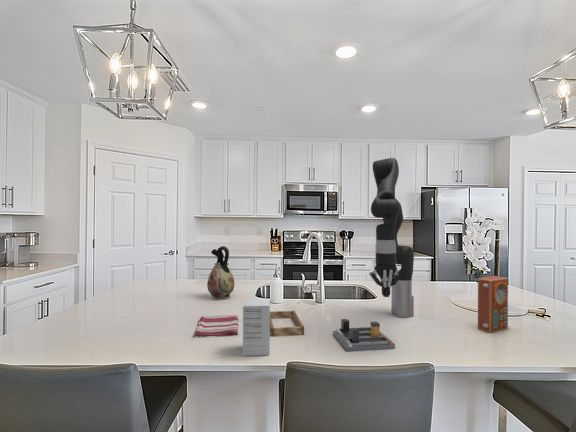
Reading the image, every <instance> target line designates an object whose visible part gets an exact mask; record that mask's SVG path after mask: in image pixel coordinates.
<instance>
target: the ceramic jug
mask: <svg viewBox="0 0 576 432" xmlns="http://www.w3.org/2000/svg"><path fill="white" fill-rule="evenodd" d="M223 251H224V253H223ZM210 253H211V255H213V256H215V257H216V258H217V260H216V263H215V264H214V266H213V268H212V269H211V271H210V273H209V275H208V278H207V283H206V285H207V291H208V292H209V294H211V296H212V297H213V299H214V298H215V299H214V300H226V299H229V298H231V294H232V292H233V291H234V289H235V278H234V275H233V273H232V271H231V270H230V268H229V267H228V262H229V258H230V257H229V256H230V250H229V248H228V247H227V246H226V245H225V246H224V245H223V246H222V245H221V246H219V247H218V248H217V249H216V248H214V249H212V250H211V252H210Z"/></svg>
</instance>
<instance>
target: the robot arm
mask: <svg viewBox="0 0 576 432" xmlns="http://www.w3.org/2000/svg"><path fill="white" fill-rule="evenodd" d="M372 172H373V177H374V181H375V186H376V190H377V192H376V196H375V197H374V198H373V201H372V202H371V206H370V212H371V215H372V216H373V217H374V218H378V219H380V218H381V219H382V222H383V223H380V224H377V225H376V227H375V267H374V270H373V271H372V272H371V271H370V272H369V276H370V278H371V279H372V280H373V281H374V282H375V284H376V285H377V286H379V287H381V295H382V297H384V298H390V295H391V309H390V310H391V315H392V316H394V317H398V318H411V317H414V316H415V315H414V314H415V312H414V311H415V309H414V308H415V307H414V305H415V304H414V302H415V301H414V295H413V274H414V261H415V255H414V250H413V247H411V246H409V245H401V244H398V233H399V231H400V229H401V226H402V225H403V221H404V214H403V213H404V212H403V208H402V204H401V203H400V201H399V200H398V199H397V198H396V185H397V182H398V178H399V173H400V169H399V162H398V160H397V159H396V158H395V157H388V158H384V159H379V160H374V161H373V163H372ZM397 265H398V266H399V265H400V266H401V267H400V269H399V270H398V267H397ZM377 276H378V277H377Z"/></svg>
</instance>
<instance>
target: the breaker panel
mask: <svg viewBox="0 0 576 432" xmlns="http://www.w3.org/2000/svg"><path fill="white" fill-rule="evenodd" d="M332 335H333V337H336V338H335V339H336V341H337V342H338V343H339V342H340V343H339V344H340V345H341V346H343V347H342V348H343V349H344V351H345V352H359V351H360V352H363V351H374V350H375V351H378V350H379V351H380V350H392V349H393V350H395V349H396V343H394V342H393V341H392V340H391V339H390V338H389V337H387V335H385V334H383V333H382V332H381V331H380V335H378V336H371V326H364V327H363V326H362V327H360V326H359V327H350V320H349V319H348V318H341V320H340V328H339V327H337V328H336V327H335V330H333V331H332Z"/></svg>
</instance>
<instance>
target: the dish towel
mask: <svg viewBox="0 0 576 432" xmlns="http://www.w3.org/2000/svg"><path fill="white" fill-rule="evenodd" d="M238 328H239V317H238V315H236V314H232V315H214V316H213V315H211V316H210V315H209V316H208V315H202V316H200V318H199V321H198V324H197V326H196V330H195V331H194V337H195V336H216V337H233V336H234V335H235V336H238V334H239V332H238V330H239V329H238ZM235 336H234V337H235Z"/></svg>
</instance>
